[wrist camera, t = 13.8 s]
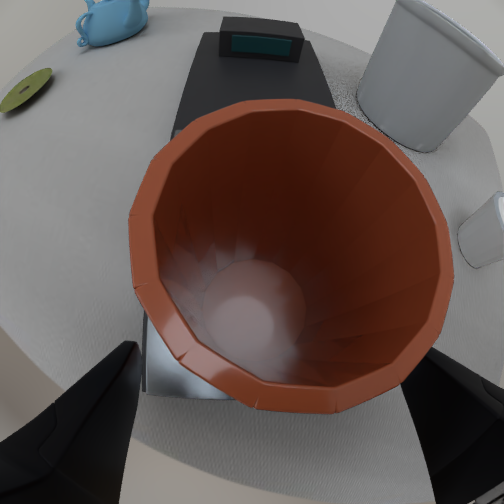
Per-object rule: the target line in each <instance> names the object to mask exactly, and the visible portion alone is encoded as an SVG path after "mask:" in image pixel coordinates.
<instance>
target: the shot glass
mask: <svg viewBox="0 0 504 504" xmlns="http://www.w3.org/2000/svg"><path fill="white" fill-rule="evenodd" d="M458 242H459V246H460V249H461V252H462V254H463V256H464V258H465V259H466V261H467V262H468V263H469V264H470V265H471V266H472V267H475V268H479V267H482V266H485V265H488V264H491V263H494V262H496V261H499V260H502V259H504V193H503V192H499V191H497V192H496V193H495V194H494V195H493V196H492V197H491V198H490V199H489V200H488V201H487V202H486V203H485V204H484V205H483V206H481V207H480V208H479V209H478V210H477V211H476V212H475V213H474V214H473V215H472V216H471V217H470V218H468V219H467V220H466V221H465V222H464V223H463V224H462V225H461V226H460V227H459V231H458Z"/></svg>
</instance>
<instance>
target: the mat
mask: <svg viewBox="0 0 504 504" xmlns="http://www.w3.org/2000/svg"><path fill="white" fill-rule="evenodd" d="M51 74H52V69H51V68H45V69H42V70H39V71H37V72H35V73H33V74H31V75H30V76H28V77H26V78H25V79H23V80H22V81H21V82H19V83H18V84H17V85H16V86H15V87H14V88H13V89H12V90H11V91H10V92H9V93H8V94H7V95H6V96H5V98H4V99H3V100H2V102H1V104H0V112H1V113H5V112H7V111H10V110H12V109H14V108H16V107H18V106H19V105H20V104H22V103H23V102H25V101H26V100H27V99H29V98H30V97H31V96H32V95H33V94H34V93H35V92H37V91H38V90H39V89H40V88H41V87H42V86H43V85H44V84H45V83H46V82H47V80H48V79H49V78H50V76H51Z"/></svg>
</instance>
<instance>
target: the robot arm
mask: <svg viewBox="0 0 504 504" xmlns="http://www.w3.org/2000/svg"><path fill="white" fill-rule="evenodd" d="M142 367H143V360H142V356H141V352H140V349H139V345H138V343H137V342H135V341H124V342H122V343H121V344H120V345H119V346H118V347H117V348H115V349H114V350H113V351H112V352H111V353H110V354H108V355H107V356H106V357H105V358H104V359H103V360H101V361H100V362H99V363H98V364H97V365H96V366H94V367H93V368H92V369H91V370H90V371H89V372H88V373H86V374H85V375H84V376H83V377H82V378H81V379H79V380H78V381H77V382H76V383H75V384H74V385H73V386H71V387H70V388H69V389H68V390H67V391H66V392H65V393H63V394H62V395H61V396H60V397H59V398H58V399H57V400H55V403H52V404H51V405H50V406H49V407H47V408H46V409H45V410H44V411H43V412H41V413H40V414H39V415H38V416H37V417H35V418H34V419H33V420H32V421H30V422H29V423H27V424H26V425H25V426H23V427H22V428H20V429H19V430H18V431H16V432H15V433H13V434H12V435H10V436H9V437H7V438H6V439H5V440H3V441H2V442H0V504H119V498H120V491H121V484H122V479H123V473H124V468H125V462H126V457H127V452H128V447H129V442H130V437H131V433H132V428H133V424H134V419H135V415H136V411H137V406H138V398H139V390H140V382H141V375H142ZM400 384H401V388H402V391H403V394H404V397H405V400H406V402H407V405H408V408H409V411H410V414H411V417H412V419H413V422H414V425H415V428H416V431H417V435H418V438H419V441H420V444H421V447H422V451H423V454H424V457H425V461H426V464H427V468H428V472H429V476H430V480H431V484H432V488H433V492H434V497H435V501H436V504H468V503H470V502H471V501H473V500H475V502H474V503H473V504H504V389H502V388H500V387H498V386H497V385H495V384H493V383H491V382H490V381H488V380H486V379H485V378H483V377H480V375H478V374H476V373H475V372H473V371H471V370H470V369H468V368H466V367H465V366H463V365H461V364H460V363H458V362H456V361H455V360H453V359H451V358H450V357H448V356H446V355H445V354H443V353H441V352H440V351H438V350H436V349H435V348H433V347H431V348H430V349H429V351H428V352H427V353H426V355H425V356H424V357H423V358H422V360H421V361H420V362H419V363H418V365H417V366H416V367H415V368H414V369H413V371H412V372H411V373H410V374H409V375H408V377H407V378H406V379H405V380H404V381H403V382H402V383H400Z"/></svg>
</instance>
